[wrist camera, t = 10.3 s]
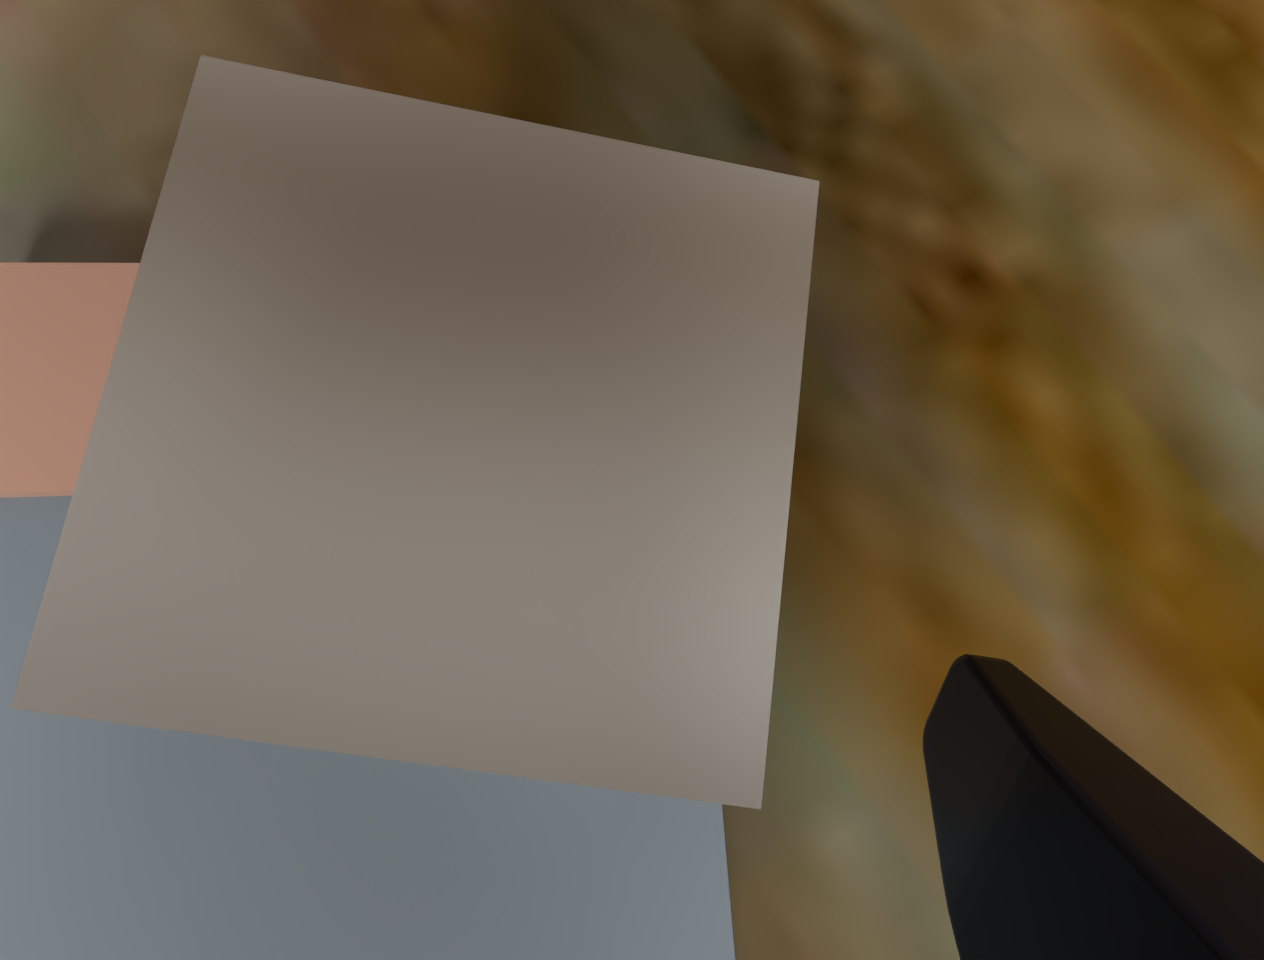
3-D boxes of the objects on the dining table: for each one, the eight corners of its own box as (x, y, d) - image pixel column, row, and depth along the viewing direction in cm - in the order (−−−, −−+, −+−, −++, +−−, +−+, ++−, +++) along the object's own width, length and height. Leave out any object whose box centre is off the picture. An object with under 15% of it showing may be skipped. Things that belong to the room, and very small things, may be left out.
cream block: (598, 770, 17) (761, 810, 7) (289, 728, 16) (11, 709, 7) (637, 480, 18) (819, 180, 8) (353, 433, 17) (200, 54, 8)
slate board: (732, 1078, 17) (751, 1105, 15) (-66, 1179, 15) (-116, 1219, 14) (666, 294, 20) (678, 264, 19) (11, 295, 18) (-24, 261, 17)
